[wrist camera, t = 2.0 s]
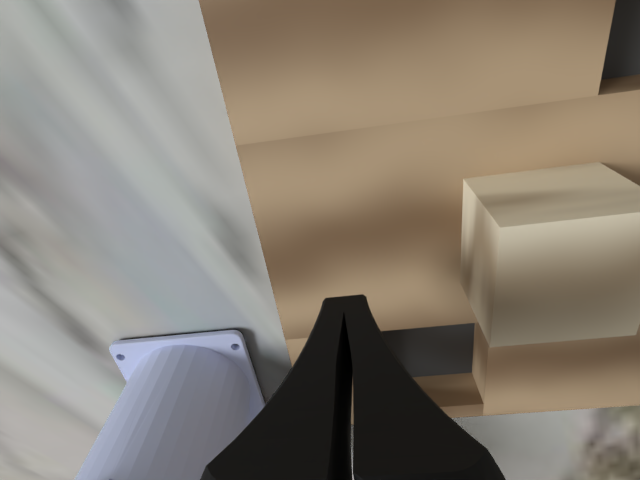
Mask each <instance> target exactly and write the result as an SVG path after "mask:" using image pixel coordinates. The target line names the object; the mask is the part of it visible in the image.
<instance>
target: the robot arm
mask: <svg viewBox="0 0 640 480" xmlns="http://www.w3.org/2000/svg"><path fill="white" fill-rule="evenodd" d="M234 344H238V345H234ZM109 351H110V353H111V355H112V356H113V358H114V360H115V362H116V364H117V365H118V367H119V369H120V371H121V373H122V374H123V376H124V378H125V380H126V381H127V384H126V386H125V388H124V389H123V391H122V393H121V395H120V397H119V399H118V400H117V402H116V404H115V406H114V408H113V410H112V411H111V413H110V415H109V417H108V419H107V421H106V422H105V424H104V426H103V428H102V430H101V432H100V433H99V435H98V437H97V439H96V441H95V443H94V444H93V446H92V448H91V450H90V452H89V454H88V455H87V457H86V459H85V461H84V463H83V465H82V466H81V468H80V470H79V472H78V474H77V476H76V477H75V479H74V480H352V466H351V409H352V382H353V413H354V444H353V475H354V480H505V478H504V476H503V474H502V472H501V470H500V469H499V467H498V465H497V464H496V462H495V460H494V459H493V457H492V456H491V454H490V453H489V451H488V450H487V449H486V448H485V447H484V446H483V445H481V444H480V443H479V442H478V441H477V440H475V439H474V438H473V437H472V436H470V435H469V434H468V433H467V432H466V431H465V430H463V429H462V428H461V427H460V426H459V425H458V424H457V423H456V422H454V421H453V420H452V419H451V418H450V417H449V416H448V415H447V414H446V413H445V412H444V411H443V410H442V409H441V408H440V407H439V406H438V405H437V404H436V403H435V402H434V401H433V400H432V399H431V398H430V397H429V396H428V395H427V394H426V393H425V392H424V391H423V389H422V388H421V387H420V386H419V385H418V384H417V382H416V381H415V380H414V379H413V378H412V376H411V375H410V374H409V373H408V371H407V370H406V369H405V368H404V366H403V365H402V363H401V362H400V361H399V359H398V358H397V356H396V355H395V353H394V352H393V351H392V349H391V348H390V346H389V344H388V343H387V341H386V340H385V338H384V336H383V334H382V333H381V331H380V329H379V327H378V325H377V323H376V321H375V319H374V317H373V315H372V313H371V310H370V308H369V305H368V302H367V297H366V296H365V295H363V294H360V295H350V296H340V297H329V298H325V299H324V300H323V302H322V306H321V309H320V312H319V315H318V317H317V320H316V322H315V324H314V327H313V329H312V331H311V333H310V335H309V337H308V340H307V342H306V344H305V346H304V347H303V349H302V351H301V353H300V355H299V356H298V358H297V360H296V362H295V364H294V365H293V367H292V368H291V370H290V372H289V373H288V375H287V376H286V378H285V379H284V381H283V382H282V384H281V385H280V387H279V388H278V389H277V391H276V392H275V393H274V395H273V396H272V397H271V398H270V400H269V401H268V402H267V404H266V405H265V402H264V399H263V396H262V393H261V390H260V387H259V384H258V381H257V378H256V375H255V371H254V368H253V365H252V362H251V359H250V356H249V353H248V350H247V347H246V344H245V340H244V337H243V335H242V333H241V332H239V331H237V330H226V331H215V332H204V333H194V334H183V335H172V336H161V337H151V338H140V339H129V340H118V341H114V342H113V343H112V344H111V345H110V347H109ZM121 354H122V355H121Z"/></svg>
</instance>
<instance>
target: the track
mask: <svg viewBox="0 0 640 480" xmlns="http://www.w3.org/2000/svg"><path fill="white" fill-rule="evenodd" d="M199 3H200V7H201V11H202V15H203V19H204V23H205V26H206V30H207V34H208V38H209V42H210V46H211V50H212V54H213V58H214V62H215V66H216V70H217V74H218V78H219V81H220V85H221V89H222V93H223V97H224V101H225V105H226V109H227V113H228V117H229V121H230V125H231V129H232V133H233V136H234V140H235V144H236V148H237V152H238V156H239V160H240V164H241V168H242V172H243V176H244V180H245V184H246V188H247V191H248V195H249V199H250V203H251V207H252V211H253V215H254V219H255V223H256V227H257V231H258V235H259V239H260V243H261V246H262V250H263V254H264V258H265V262H266V266H267V270H268V274H269V278H270V282H271V286H272V290H273V294H274V298H275V301H276V305H277V309H278V313H279V317H280V321H281V325H282V329H283V333H284V337H285V341H286V345H287V349H288V353H289V356H290V360H291V364H292V367H293V365H294V364H295V362H296V360H297V358H298V356H299V355H300V353H301V351H302V349H303V347H304V346H305V344H306V342H307V340H308V337H309V335H310V333H311V331H312V329H313V327H314V324H315V322H316V320H317V317H318V315H319V312H320V309H321V306H322V302H323V300H324V299H325V298H329V297H340V296H350V295H360V294H363V295H365V296H366V297H367V302H368V305H369V308H370V310H371V313H372V315H373V317H374V319H375V321H376V323H377V325H378V327H379V329H380V331H381V333H382V334H383V336H384V338H385V340H386V341H387V343H388V344H389V346H390V348H391V349H392V351H393V352H394V353H395V355H396V356H397V358H398V359H399V361H400V362H401V363H402V365H403V366H404V368H405V369H406V370H407V371H408V373H409V374H410V375H411V376H412V378H413V379H414V380H415V381H416V382H417V384H418V385H419V386H420V387H421V388H422V389H423V391H424V392H425V393H426V394H427V395H428V396H429V397H430V398H431V399H432V400H433V401H434V402H435V403H436V404H437V405H438V406H439V407H440V408H441V409H442V410H443V411H444V412H445V413H446V414H447V415H448V416H449V417H450V418H457V417H472V416H486V415H501V414H516V413H530V412H545V411H560V410H575V409H589V408H604V407H619V406H633V405H640V324H639V327H638V330H637V333H636V335H631V336H620V337H608V338H596V339H584V340H572V341H560V342H548V343H536V344H524V345H512V346H500V347H490V346H489V344H488V342H487V340H486V338H485V336H484V333H483V331H482V329H481V327H480V325H479V323H478V320H477V318H476V316H475V314H474V312H473V310H472V307H471V305H470V303H469V301H468V299H467V296H466V294H465V292H464V290H463V288H462V286H461V283H460V268H461V237H462V206H463V179H466V178H474V177H482V176H490V175H498V174H506V173H514V172H523V171H531V170H539V169H547V168H555V167H563V166H571V165H579V164H587V163H595V162H600V163H601V164H603V165H605V166H607V167H608V168H610V169H612V170H613V171H615V172H617V173H618V174H620V175H622V176H624V177H625V178H627V179H629V180H630V181H632V182H634V183H635V184H637V185H639V186H640V0H199ZM351 425H354V413H353V382H352V409H351Z"/></svg>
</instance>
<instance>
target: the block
mask: <svg viewBox="0 0 640 480" xmlns="http://www.w3.org/2000/svg"><path fill="white" fill-rule="evenodd" d="M460 283H461V286H462V288H463V290H464V292H465V294H466V296H467V299H468V301H469V303H470V305H471V307H472V310H473V312H474V314H475V316H476V318H477V320H478V323H479V325H480V327H481V329H482V331H483V333H484V336H485V338H486V340H487V342H488V344H489V346H490V347H500V346H512V345H524V344H536V343H548V342H560V341H572V340H584V339H596V338H608V337H620V336H631V335H636V333H637V330H638V327H639V324H640V186H639V185H637V184H635V183H634V182H632V181H630V180H629V179H627V178H625V177H624V176H622V175H620V174H618V173H617V172H615V171H613V170H612V169H610V168H608V167H607V166H605V165H603V164H601V163H600V162H595V163H587V164H579V165H571V166H563V167H555V168H547V169H539V170H531V171H523V172H514V173H506V174H498V175H490V176H482V177H474V178H466V179H463V206H462V237H461V268H460Z"/></svg>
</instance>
